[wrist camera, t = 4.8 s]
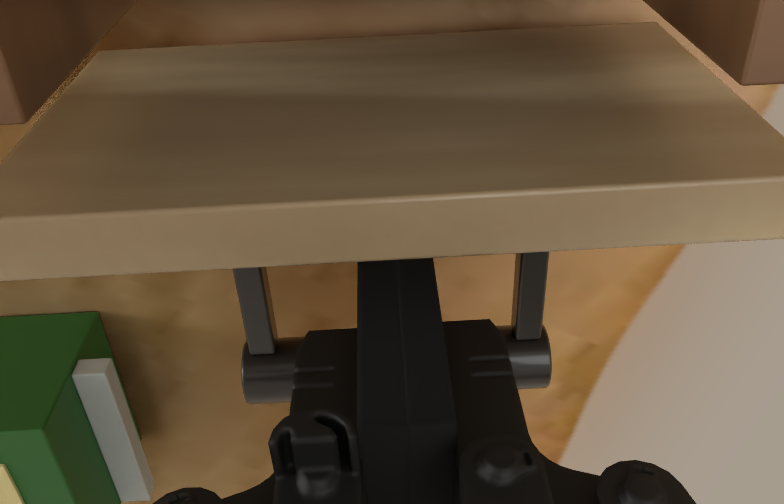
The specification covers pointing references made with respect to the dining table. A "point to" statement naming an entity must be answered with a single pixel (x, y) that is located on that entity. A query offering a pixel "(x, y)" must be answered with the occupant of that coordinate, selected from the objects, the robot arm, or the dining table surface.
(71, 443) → the green carton
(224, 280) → the dining table surface
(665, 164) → the drawer
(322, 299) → the dining table surface
